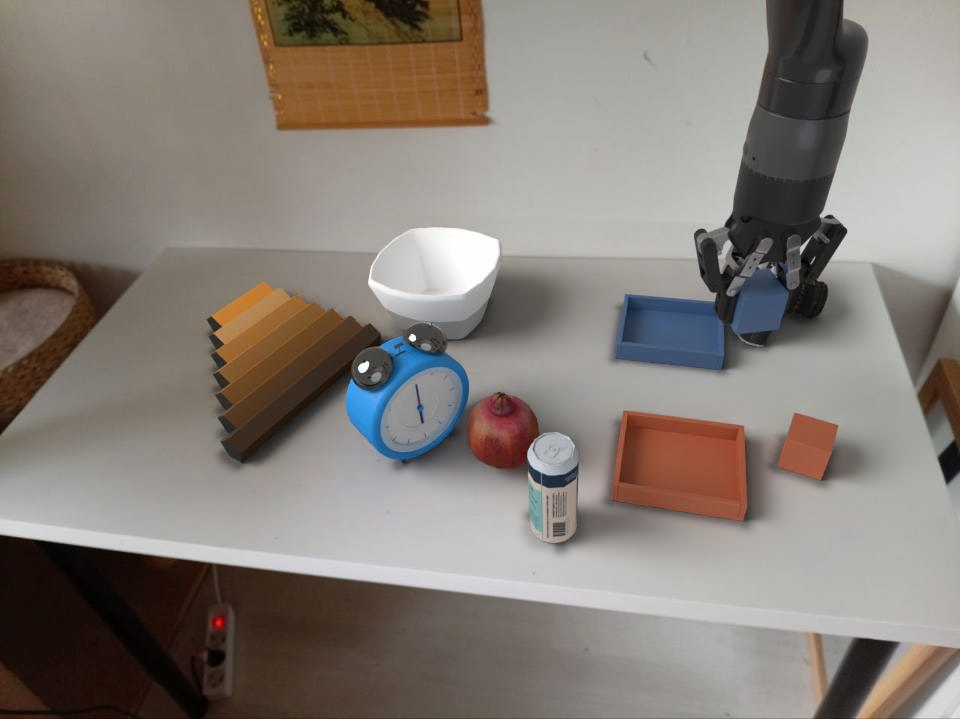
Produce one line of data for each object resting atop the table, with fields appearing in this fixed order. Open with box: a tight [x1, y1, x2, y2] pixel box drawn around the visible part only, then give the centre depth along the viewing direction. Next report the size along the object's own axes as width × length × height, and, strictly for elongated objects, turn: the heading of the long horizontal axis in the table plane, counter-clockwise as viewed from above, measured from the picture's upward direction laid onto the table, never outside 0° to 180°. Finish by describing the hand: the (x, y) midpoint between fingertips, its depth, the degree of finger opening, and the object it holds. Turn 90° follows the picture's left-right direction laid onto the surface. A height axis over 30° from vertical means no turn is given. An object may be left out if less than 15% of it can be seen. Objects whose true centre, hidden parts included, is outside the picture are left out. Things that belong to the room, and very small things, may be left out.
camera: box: [737, 262, 829, 348], centre depth 90 cm, size 15×11×10 cm
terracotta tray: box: [611, 409, 749, 522], centre depth 74 cm, size 13×11×2 cm
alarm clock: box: [345, 322, 470, 464], centre depth 76 cm, size 13×6×15 cm, turn 129°
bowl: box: [367, 226, 503, 340], centre depth 96 cm, size 18×18×9 cm
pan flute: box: [206, 280, 382, 464], centre depth 92 cm, size 25×3×25 cm
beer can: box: [527, 431, 580, 544], centre depth 66 cm, size 5×5×12 cm
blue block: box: [728, 268, 789, 335], centre depth 67 cm, size 4×4×4 cm
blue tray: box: [615, 293, 725, 371], centre depth 91 cm, size 13×11×2 cm
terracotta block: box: [777, 412, 839, 481], centre depth 73 cm, size 4×4×4 cm
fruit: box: [465, 391, 541, 470], centre depth 74 cm, size 8×8×10 cm
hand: (748, 316), depth 69 cm, fingers closed on blue block, 4 cm apart
